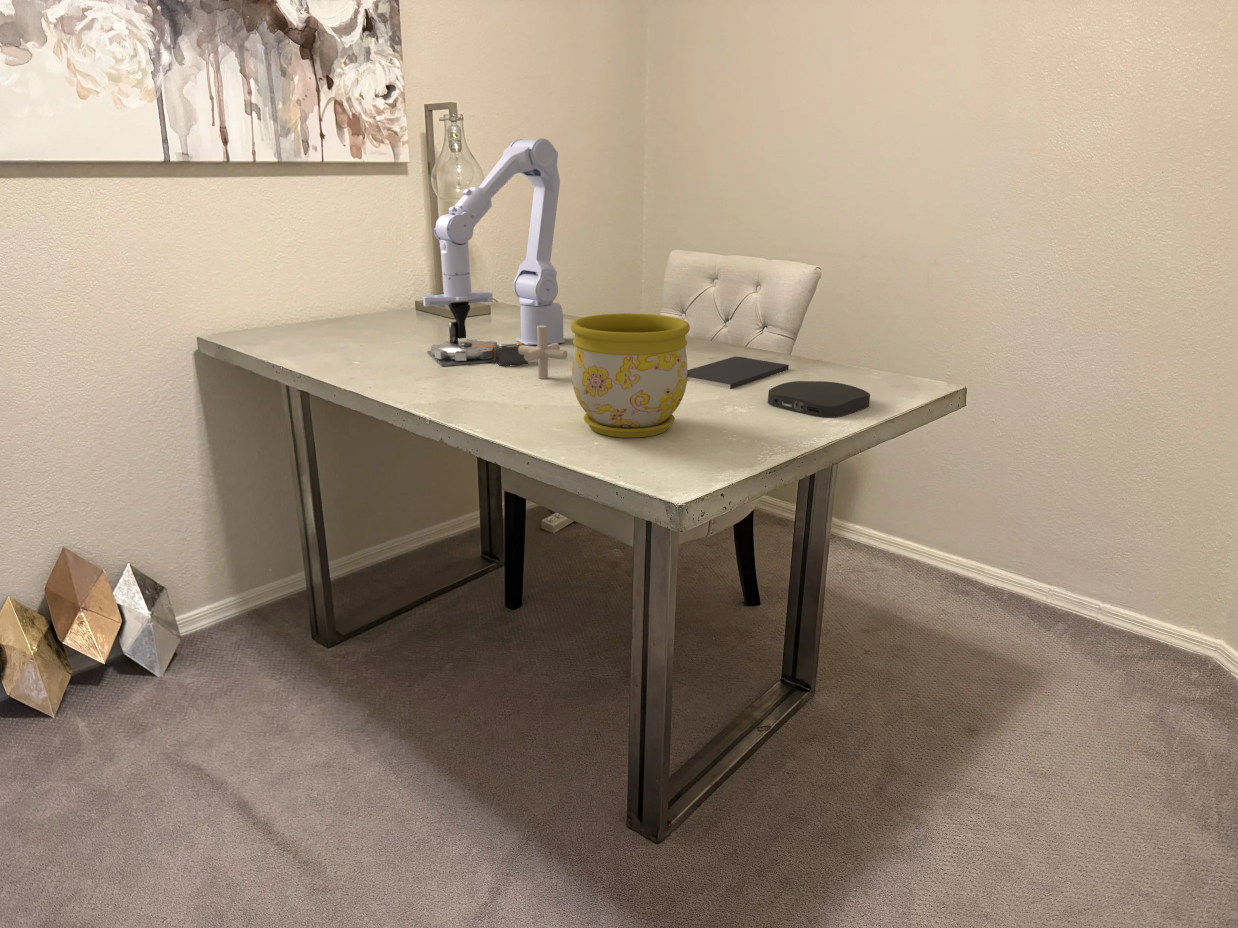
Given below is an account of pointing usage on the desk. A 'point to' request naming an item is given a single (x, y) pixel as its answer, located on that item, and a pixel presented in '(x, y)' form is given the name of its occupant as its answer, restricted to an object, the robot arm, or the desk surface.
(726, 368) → the notebook
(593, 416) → the flowerpot
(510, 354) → the two-button control panel
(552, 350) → the pipe connector
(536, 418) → the desk surface
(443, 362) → the plate
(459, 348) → the sprocket
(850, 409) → the media streaming box
